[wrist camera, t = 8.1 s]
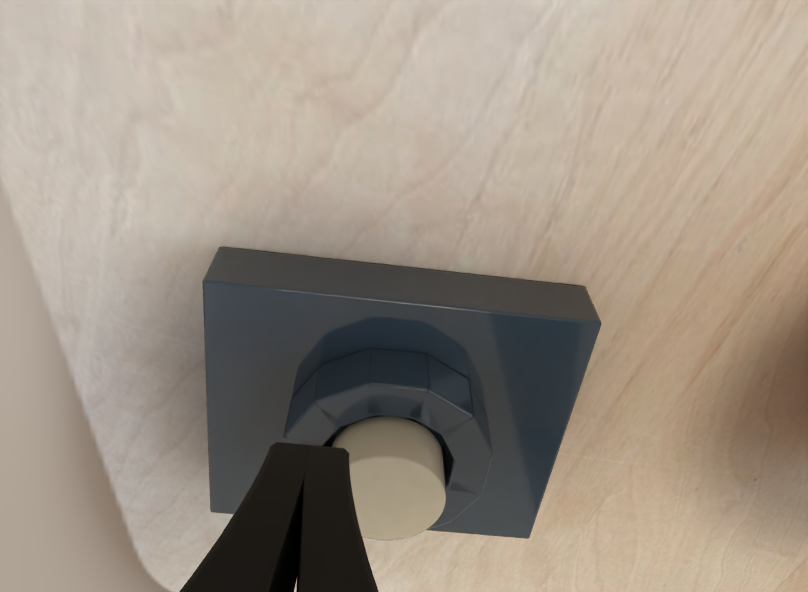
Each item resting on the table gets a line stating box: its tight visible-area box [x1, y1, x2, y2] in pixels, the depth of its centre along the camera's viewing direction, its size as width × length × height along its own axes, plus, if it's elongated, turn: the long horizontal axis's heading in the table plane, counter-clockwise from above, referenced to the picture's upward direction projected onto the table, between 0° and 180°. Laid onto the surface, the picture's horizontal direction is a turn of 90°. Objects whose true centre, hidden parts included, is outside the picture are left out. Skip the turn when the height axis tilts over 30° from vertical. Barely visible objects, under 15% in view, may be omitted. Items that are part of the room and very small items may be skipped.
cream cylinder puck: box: [332, 416, 446, 540], centre depth 21 cm, size 4×4×2 cm
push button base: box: [202, 247, 601, 538], centre depth 23 cm, size 12×10×4 cm
